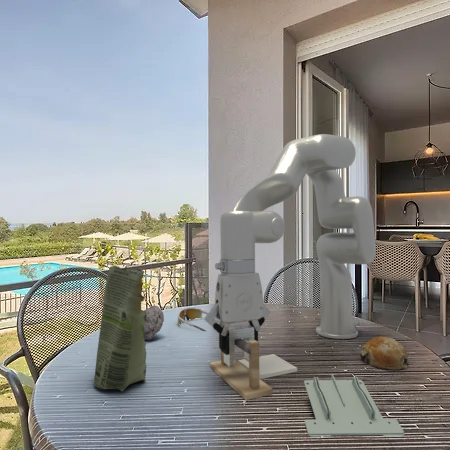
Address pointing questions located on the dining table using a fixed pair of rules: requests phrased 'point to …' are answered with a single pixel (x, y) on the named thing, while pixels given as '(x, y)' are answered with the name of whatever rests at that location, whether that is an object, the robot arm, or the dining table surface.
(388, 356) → the bread roll
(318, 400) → the metal bracket
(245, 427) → the dining table surface
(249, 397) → the rail stand
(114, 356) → the pouch
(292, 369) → the square tile
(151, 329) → the pumice stone
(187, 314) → the sunglasses
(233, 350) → the notched grey block
